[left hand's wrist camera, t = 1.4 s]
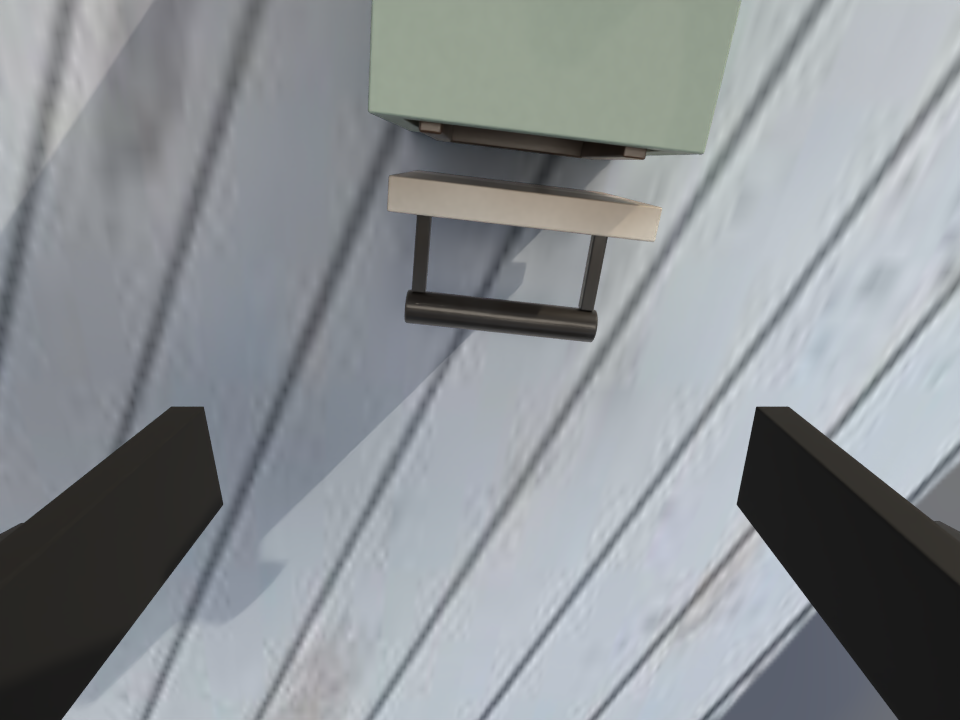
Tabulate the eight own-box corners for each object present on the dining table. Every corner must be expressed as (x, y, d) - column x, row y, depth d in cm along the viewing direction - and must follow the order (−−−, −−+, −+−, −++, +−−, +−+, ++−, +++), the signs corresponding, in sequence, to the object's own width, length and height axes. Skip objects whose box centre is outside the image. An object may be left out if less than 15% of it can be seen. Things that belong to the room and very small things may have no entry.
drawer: (580, 313, 29) (624, 377, 21) (408, 295, 29) (379, 352, 20) (689, -269, 21) (838, -567, 12) (448, -308, 20) (429, -647, 12)
